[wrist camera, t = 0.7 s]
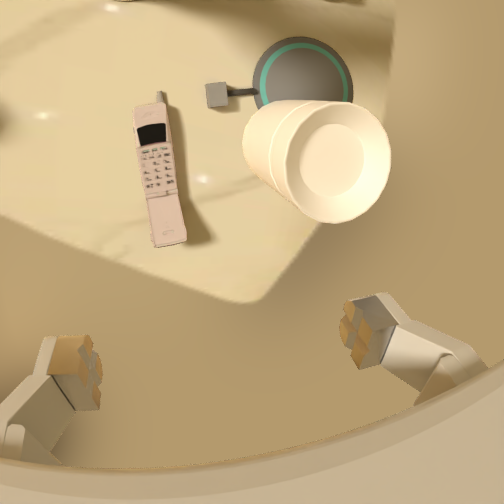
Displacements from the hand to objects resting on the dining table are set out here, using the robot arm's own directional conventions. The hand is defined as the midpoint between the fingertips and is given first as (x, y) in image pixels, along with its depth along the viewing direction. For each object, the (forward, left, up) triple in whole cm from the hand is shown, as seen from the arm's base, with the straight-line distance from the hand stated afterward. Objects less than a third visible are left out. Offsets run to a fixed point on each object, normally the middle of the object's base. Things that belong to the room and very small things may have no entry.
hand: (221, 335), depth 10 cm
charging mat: (-8, +22, -47) cm, 53 cm away
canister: (+2, +21, -48) cm, 52 cm away
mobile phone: (+2, -2, -48) cm, 48 cm away
